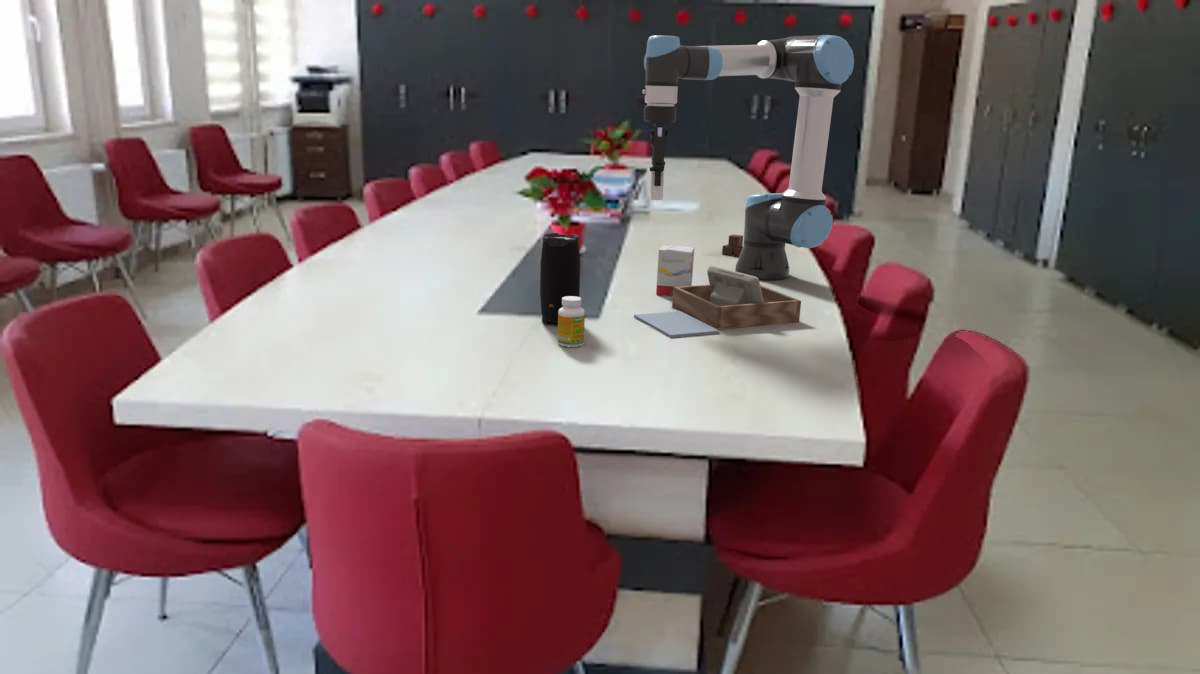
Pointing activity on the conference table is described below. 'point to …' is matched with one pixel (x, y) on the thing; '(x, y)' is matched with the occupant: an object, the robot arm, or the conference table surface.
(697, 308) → the walnut tray
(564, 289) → the portable speaker
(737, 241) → the stack of crates
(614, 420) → the conference table surface
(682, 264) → the ink box
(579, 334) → the supplement bottle
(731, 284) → the digital clock
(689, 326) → the slate mat
